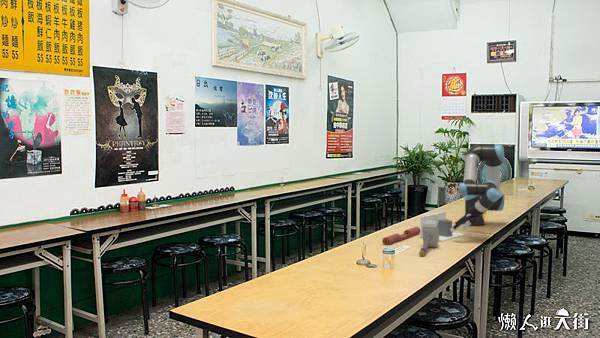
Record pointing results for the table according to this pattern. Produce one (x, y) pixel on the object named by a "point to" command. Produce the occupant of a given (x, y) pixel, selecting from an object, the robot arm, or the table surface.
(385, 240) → the blood vessel
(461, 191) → the robot arm
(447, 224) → the block
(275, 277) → the table surface
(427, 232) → the grey angled piece
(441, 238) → the rail panel
